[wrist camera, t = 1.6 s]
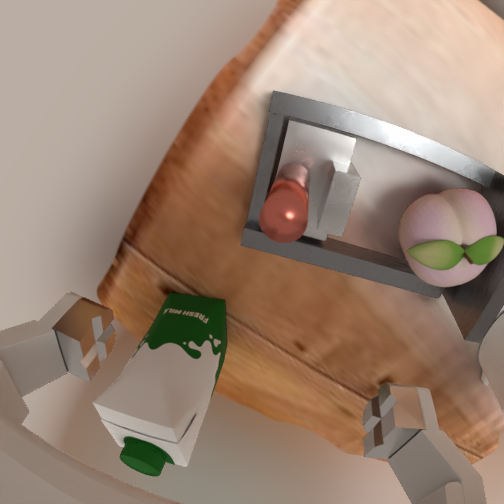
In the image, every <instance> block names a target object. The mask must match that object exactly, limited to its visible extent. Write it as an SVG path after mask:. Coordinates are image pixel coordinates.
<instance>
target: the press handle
mask: <svg viewBox="0 0 504 504" xmlns="http://www.w3.org/2000/svg"><path fill="white" fill-rule="evenodd" d="M356 140H357V139H356V138H355V137H353V136H350V135H347V134H344V133H340V132H337V131H333V130H330V129H326V128H323V127H319V126H315V125H312V124H308V123H304V122H300V121H296V120H292V119H290V120H289V124H288V128H287V133H286V137H285V141H284V145H283V150H282V154H281V158H280V162H279V167H278V171H277V175H276V179H275V181H274V183H273V185H272V188H271V190H270V192H269V194H268V196H267V198H266V200H265V203H264V205H263V207H262V209H261V211H260V214H259V224H260V227H261V230H262V231H263V233H264V234H265V235H266V236H267V237H268V238H269V239H271V240H273V241H275V242H279V243H290V242H293V241H295V240H297V239H299V238H300V237H301V236H302V235H305V236H308V237H312V238H316V239H319V240H323V241H326V238H327V235H328V234H332V235H335V236H339V237H342V234H343V231H344V229H345V226H346V223H347V220H348V217H349V214H350V211H351V208H352V205H353V202H354V199H355V196H356V193H357V190H358V186H359V183H360V180H361V177H360V175H359V173H358V172H357V170H356V168H355V167H354V165H353V164H352V163H350V161H351V157H352V154H353V150H354V147H355V143H356Z"/></svg>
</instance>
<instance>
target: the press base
mask: <svg viewBox="0 0 504 504" xmlns="http://www.w3.org/2000/svg"><path fill="white" fill-rule="evenodd" d="M269 112H270V117H269V121H268V126H267V131H266V135H265V140H264V144H263V149H262V153H261V158H260V163H259V167H258V172H257V176H256V181H255V186H254V190H253V195H252V200H251V204H250V209H249V214H248V219H247V223H246V225H245V227H244V230H243V235H242V240H241V246H245V247H249V248H252V249H256V250H260V251H264V252H267V253H271V254H275V255H279V256H282V257H286V258H290V259H294V260H297V261H301V262H305V263H308V264H312V265H316V266H320V267H323V268H327V269H331V270H335V271H338V272H342V273H346V274H349V275H353V276H357V277H361V278H364V279H368V280H372V281H375V282H379V283H383V284H386V285H390V286H394V287H397V288H401V289H405V290H409V291H412V292H416V293H420V294H423V295H427V296H431V297H434V298H438V299H439V297H440V295H441V293H442V294H443V296H444V298H445V300H446V302H447V304H448V306H449V308H450V310H451V312H452V314H453V316H454V318H455V320H456V322H457V324H458V327H459V329H460V331H461V333H462V335H463V337H464V340H468V341H473V342H478V343H479V342H480V341H481V339H482V338H483V336H484V335H485V333H486V332H487V330H488V329H489V327H490V326H491V324H492V323H493V321H494V320H495V318H496V317H497V315H498V314H499V312H500V310H501V309H502V307H503V305H504V245H503V247H502V249H501V251H500V253H499V254H498V255H497V256H496V257H495V258H494V259H493V260H492V261H490V262H489V263H488V264H487V265H486V267H485V268H484V270H483V271H482V272H481V273H480V274H479V275H478V276H476V277H475V278H474V279H472V280H470V281H468V282H466V283H463V284H460V285H456V286H451V287H439V286H434V285H431V284H428V283H426V282H425V281H423V280H421V279H420V278H419V277H418V276H417V275H416V274H415V273H414V272H413V270H412V269H411V267H410V265H409V264H408V261H406V260H402V259H399V258H396V257H392V256H389V255H386V254H382V253H379V252H375V251H372V250H368V249H365V248H362V247H358V246H355V245H351V244H348V243H344V242H340V241H337V240H333V239H330V238H326V241H323V240H319V239H316V238H312V237H308V236H305V235H302V236H301V237H300V238H299V239H297V240H295V241H293V242H290V243H279V242H275V241H273V240H271V239H269V238H268V237H267V236H266V235H265V234H264V233H263V231H262V230H261V227H260V224H259V214H260V211H261V209H262V207H263V205H264V203H265V200H266V198H267V195H268V190H269V186H270V182H271V177H272V173H273V169H274V164H275V160H276V156H277V152H278V147H279V143H280V139H281V134H282V130H283V126H284V121H285V117H286V116H291V117H295V118H299V119H303V120H307V121H310V122H314V123H318V124H322V125H325V126H329V127H332V128H336V129H339V130H342V131H346V132H349V133H352V134H355V135H359V136H362V137H365V138H368V139H371V140H374V141H377V142H380V143H383V144H385V145H388V146H391V147H394V148H397V149H399V150H402V151H405V152H407V153H410V154H413V155H415V156H418V157H420V158H423V159H425V160H428V161H430V162H433V163H435V164H437V165H440V166H442V167H444V168H447V169H449V170H451V171H454V172H456V173H458V174H460V175H462V176H465V177H467V178H469V179H471V180H473V181H475V182H477V183H479V184H481V185H483V186H482V189H481V192H480V194H481V195H482V196H483V197H484V198H485V199H486V200H487V202H488V203H489V205H490V207H491V209H492V211H493V214H494V217H495V221H496V230H497V234H496V236H500V237H502V238H504V175H502V174H500V173H498V172H496V171H495V170H493V169H491V168H489V167H487V166H485V165H484V164H482V163H480V162H478V161H476V160H474V159H472V158H470V157H468V156H466V155H463V154H461V153H459V152H457V151H455V150H453V149H451V148H448V147H446V146H444V145H442V144H439V143H437V142H435V141H433V140H430V139H428V138H425V137H423V136H421V135H418V134H416V133H413V132H411V131H408V130H405V129H403V128H400V127H397V126H395V125H392V124H389V123H387V122H384V121H381V120H378V119H375V118H372V117H369V116H366V115H363V114H360V113H357V112H354V111H350V110H347V109H344V108H340V107H337V106H334V105H330V104H326V103H323V102H319V101H315V100H311V99H307V98H303V97H299V96H295V95H291V94H287V93H282V92H278V91H273V95H272V100H271V104H270V109H269Z"/></svg>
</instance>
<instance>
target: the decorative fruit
mask: <svg viewBox="0 0 504 504" xmlns="http://www.w3.org/2000/svg"><path fill="white" fill-rule="evenodd" d="M398 234H399V241H400V244H401V247H402V250H403V252H404V255H405V257H406V259H407V261H408V264H409V265H410V267H411V269H412V270H413V272H414V273H415V274H416V275H417V276H418V277H419V278H420V279H421V280H423V281H425V282H426V283H428V284H431V285H434V286H439V287H451V286H456V285H460V284H463V283H466V282H468V281H470V280H472V279H474V278H475V277H476V276H478V275H479V274H480V273H481V272H482V271H483V270H484V268H485V267H486V265H487V264H488V263H489V262H490V261H492V260H493V259H494V258H495V257H496V256H497V255H498V254H499V253H500V251H501V249H502V247H503V245H504V238H502V237H500V236H496V234H497V230H496V221H495V217H494V214H493V211H492V209H491V207H490V205H489V203H488V202H487V200H486V199H485V198H484V197H483V196H482V195H481V194H479V193H478V192H476V191H473V190H470V189H464V188H452V189H446V190H444V191H442V192H440V193H439V194H426V195H424V196H422V197H420V198H418V199H417V200H415V201H414V202H413V203H411V204H410V205H409V206H408V208H407V209H406V210H405V212H404V213H403V215H402V217H401V220H400V223H399V230H398Z"/></svg>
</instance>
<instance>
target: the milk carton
mask: <svg viewBox="0 0 504 504" xmlns="http://www.w3.org/2000/svg"><path fill="white" fill-rule="evenodd" d="M226 348H227V327H226V306H225V300H222V299H214V298H207V297H199V296H192V295H185V294H178V293H171V292H170V294H169V295H168V297H167V299H166V301H165V302H164V304H163V306H162V308H161V310H160V311H159V313H158V315H157V317H156V318H155V320H154V322H153V324H152V326H151V327H150V329H149V330H148V332H147V334H146V335H145V337H144V338H143V340H142V341H141V343H140V344H139V346H138V348H137V349H136V351H135V352H134V354H133V355H132V357H131V358H130V360H129V362H128V363H127V365H126V367H125V368H124V370H123V371H122V373H121V374H120V376H119V377H118V379H117V380H116V381H115V382H114V383H113V384H112V385H111V386H110V387H109V388H108V389H106V390H105V391H104V392H103V393H102V394H101V395H100V396H99V397H98V398H97V399H96V400H95V401H94V402H93V404H94V406H95V408H96V409H97V411H98V413H99V414H100V416H101V421H102V422H103V424H104V425H105V426H106V428H107V429H108V431H109V432H110V433H111V435H112V436H113V438H114V440H115V441H116V442H117V444H118V445H119V446H121V447H124V448H123V450H122V452H121V454H120V459H121V461H123V462H124V463H125V464H126V465H127V466H129V467H131V468H132V469H134V470H136V471H138V472H140V473H143V474H146V475H150V476H159V475H160V474H161V471H162V469H163V466H164V464H165V462H168V463H171V464H178V465H181V466H185V467H187V466H188V462H189V459H190V456H191V453H192V450H193V448H194V445H195V442H196V439H197V436H198V433H199V430H200V427H201V425H202V422H203V419H204V417H205V414H206V411H207V408H208V405H209V403H210V400H211V397H212V394H213V391H214V388H215V386H216V383H217V380H218V377H219V374H220V371H221V368H222V365H223V362H224V358H225V353H226Z"/></svg>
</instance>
